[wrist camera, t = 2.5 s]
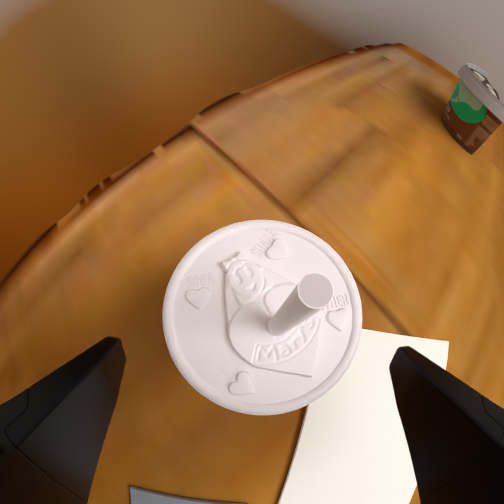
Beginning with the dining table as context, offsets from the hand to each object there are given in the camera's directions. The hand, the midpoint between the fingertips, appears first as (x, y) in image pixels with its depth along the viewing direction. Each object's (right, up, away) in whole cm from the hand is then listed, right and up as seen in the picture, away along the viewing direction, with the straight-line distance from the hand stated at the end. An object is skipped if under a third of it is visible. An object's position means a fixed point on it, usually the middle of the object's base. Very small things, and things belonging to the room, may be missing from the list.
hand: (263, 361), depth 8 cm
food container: (+28, +21, +21) cm, 41 cm away
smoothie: (0, -2, +9) cm, 10 cm away
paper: (+8, -10, +6) cm, 14 cm away
